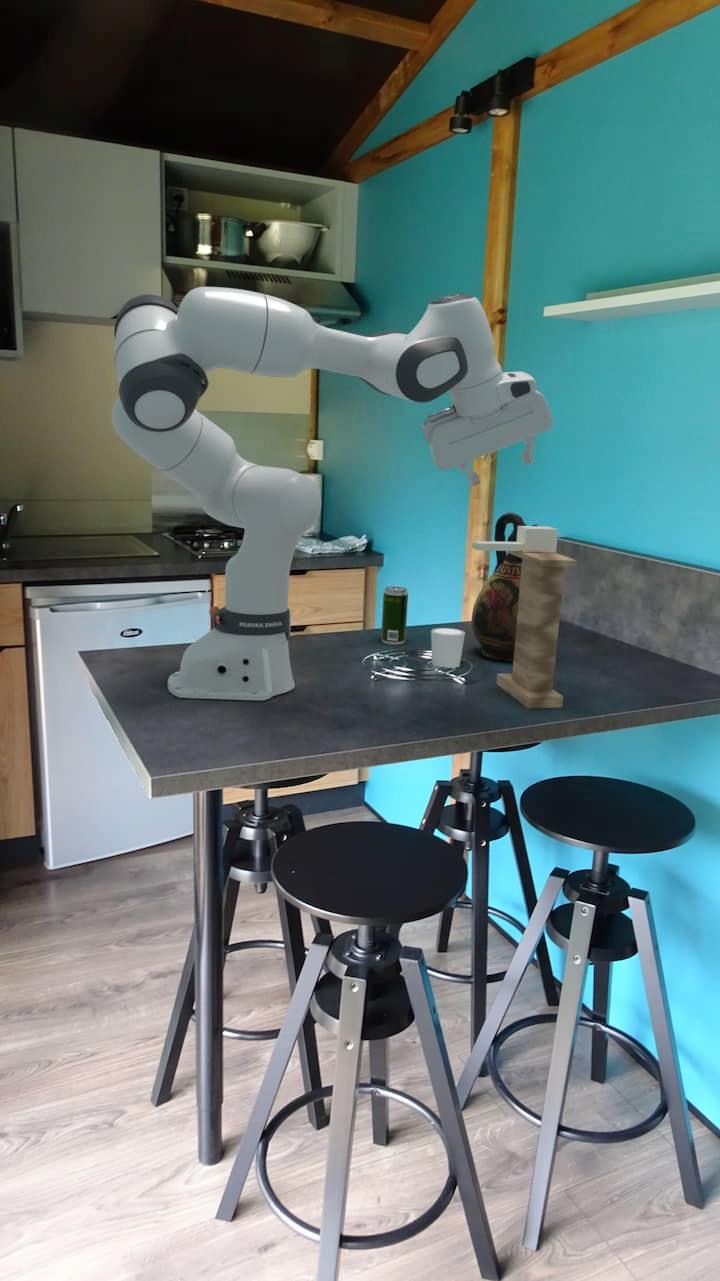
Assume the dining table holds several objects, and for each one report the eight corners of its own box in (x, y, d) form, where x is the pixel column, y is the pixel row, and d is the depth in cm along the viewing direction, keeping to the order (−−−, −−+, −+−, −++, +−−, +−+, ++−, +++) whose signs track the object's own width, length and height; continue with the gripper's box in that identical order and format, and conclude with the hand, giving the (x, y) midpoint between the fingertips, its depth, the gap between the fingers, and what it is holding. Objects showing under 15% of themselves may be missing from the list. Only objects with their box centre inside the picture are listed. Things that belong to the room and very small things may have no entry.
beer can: (406, 645, 201) (409, 591, 198) (381, 644, 201) (384, 590, 198) (403, 639, 207) (407, 586, 204) (379, 639, 206) (382, 585, 203)
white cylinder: (465, 669, 184) (468, 635, 182) (431, 668, 184) (433, 634, 182) (460, 661, 191) (462, 627, 189) (426, 659, 190) (429, 626, 189)
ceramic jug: (557, 660, 195) (571, 517, 188) (503, 668, 186) (515, 519, 179) (502, 642, 208) (513, 508, 201) (449, 649, 200) (459, 510, 193)
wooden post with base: (527, 708, 161) (541, 559, 155) (496, 683, 175) (508, 546, 169) (562, 707, 162) (577, 559, 156) (528, 683, 177) (541, 546, 170)
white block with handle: (478, 550, 161) (480, 527, 160) (471, 547, 165) (472, 525, 164) (556, 551, 164) (558, 529, 163) (546, 548, 168) (548, 526, 167)
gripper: (422, 424, 145) (447, 502, 152) (544, 376, 145) (565, 457, 151) (414, 414, 151) (439, 490, 157) (532, 368, 150) (552, 446, 157)
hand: (501, 473), depth 154 cm, fingers open, 8 cm apart
